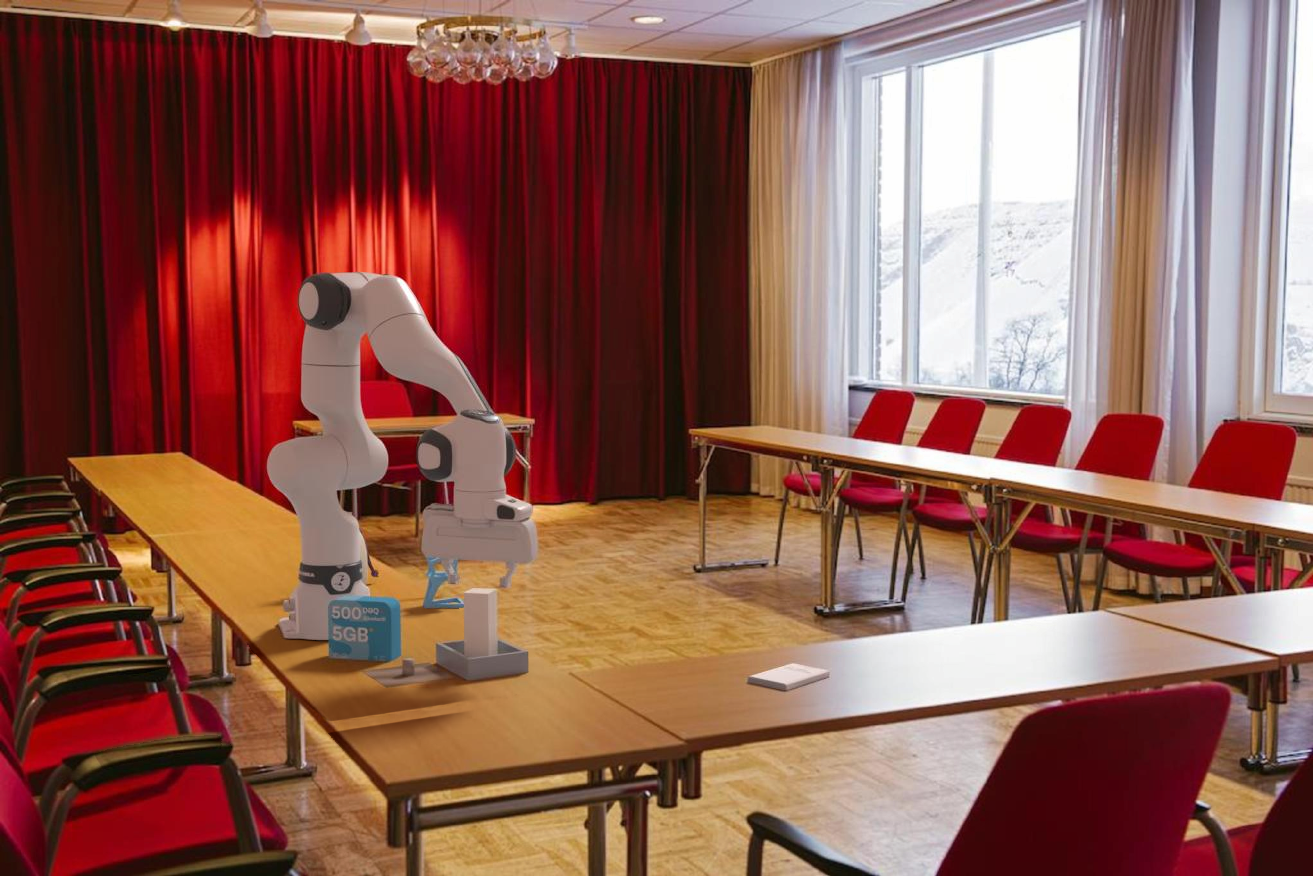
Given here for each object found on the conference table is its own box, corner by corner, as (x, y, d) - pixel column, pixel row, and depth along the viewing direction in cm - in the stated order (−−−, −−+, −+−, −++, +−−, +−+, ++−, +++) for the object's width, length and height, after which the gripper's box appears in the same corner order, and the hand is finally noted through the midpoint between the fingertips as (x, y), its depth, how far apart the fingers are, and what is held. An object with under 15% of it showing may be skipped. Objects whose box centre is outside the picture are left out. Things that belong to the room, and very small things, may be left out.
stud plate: (362, 679, 230) (361, 656, 230) (428, 670, 236) (428, 648, 236) (386, 696, 220) (386, 671, 219) (455, 686, 226) (455, 662, 226)
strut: (464, 673, 231) (463, 592, 230) (473, 667, 235) (472, 588, 234) (488, 675, 230) (488, 593, 229) (497, 669, 234) (497, 589, 233)
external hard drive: (747, 685, 229) (791, 671, 238) (786, 693, 223) (829, 679, 232) (747, 675, 229) (791, 662, 238) (786, 684, 223) (829, 669, 232)
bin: (436, 671, 236) (436, 643, 235) (494, 663, 241) (493, 635, 241) (468, 689, 224) (468, 659, 223) (528, 680, 230) (528, 651, 229)
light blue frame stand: (421, 604, 295) (420, 549, 294) (459, 601, 298) (458, 547, 297) (426, 610, 288) (425, 555, 287) (465, 608, 290) (464, 552, 289)
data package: (328, 666, 240) (327, 599, 239) (339, 660, 244) (338, 594, 243) (391, 670, 237) (390, 602, 236) (401, 664, 241) (400, 597, 240)
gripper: (415, 505, 230) (415, 585, 231) (529, 511, 225) (528, 593, 226) (430, 500, 236) (430, 578, 237) (541, 506, 231) (540, 586, 232)
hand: (479, 585), depth 232 cm, fingers open, 8 cm apart
